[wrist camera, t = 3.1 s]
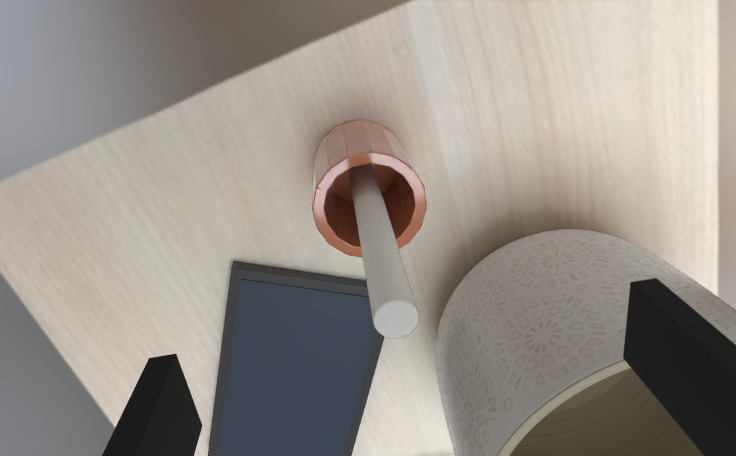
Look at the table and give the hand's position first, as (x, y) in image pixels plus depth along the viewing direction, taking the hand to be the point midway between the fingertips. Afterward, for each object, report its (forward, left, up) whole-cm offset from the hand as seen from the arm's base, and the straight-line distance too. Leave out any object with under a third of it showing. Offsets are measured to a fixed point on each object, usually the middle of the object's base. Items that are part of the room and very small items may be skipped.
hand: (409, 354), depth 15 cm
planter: (+14, -8, -19) cm, 25 cm away
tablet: (-1, -16, -18) cm, 25 cm away
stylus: (0, 0, -18) cm, 18 cm away
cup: (0, 0, -18) cm, 18 cm away
